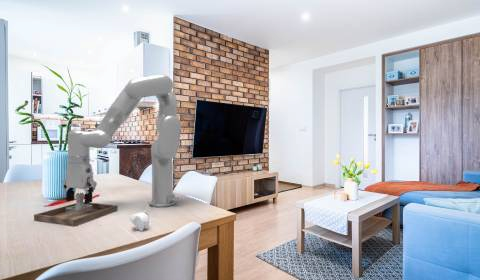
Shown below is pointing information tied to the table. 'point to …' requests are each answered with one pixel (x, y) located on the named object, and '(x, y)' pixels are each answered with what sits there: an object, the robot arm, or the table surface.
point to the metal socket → (78, 210)
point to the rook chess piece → (79, 201)
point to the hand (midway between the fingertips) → (79, 201)
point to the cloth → (66, 201)
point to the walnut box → (72, 220)
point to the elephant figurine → (140, 220)
